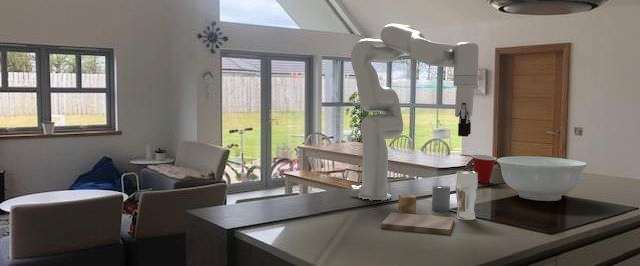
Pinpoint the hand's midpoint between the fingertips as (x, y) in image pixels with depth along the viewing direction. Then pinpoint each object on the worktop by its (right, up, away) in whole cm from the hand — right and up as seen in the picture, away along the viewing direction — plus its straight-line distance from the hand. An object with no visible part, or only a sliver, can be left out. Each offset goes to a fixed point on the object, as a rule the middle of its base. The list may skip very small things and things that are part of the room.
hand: (464, 135), depth 180 cm
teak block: (-17, -26, +7) cm, 32 cm away
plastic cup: (+27, -22, +72) cm, 80 cm away
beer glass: (+1, -27, +2) cm, 27 cm away
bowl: (+39, -25, +38) cm, 60 cm away
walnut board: (-16, -28, -9) cm, 33 cm away
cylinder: (-5, -26, +14) cm, 30 cm away
